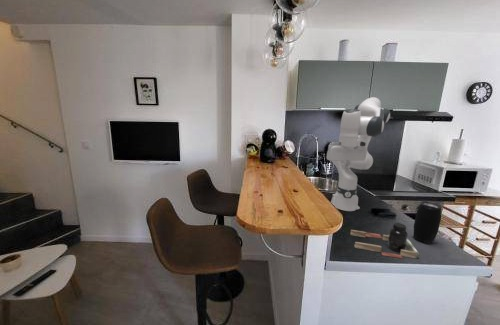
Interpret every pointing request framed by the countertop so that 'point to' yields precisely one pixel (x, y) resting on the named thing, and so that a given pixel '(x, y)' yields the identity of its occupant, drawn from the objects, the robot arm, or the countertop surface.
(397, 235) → the supplement bottle
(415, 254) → the channel
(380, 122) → the robot arm
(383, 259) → the countertop surface
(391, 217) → the countertop surface
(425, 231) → the portable speaker
